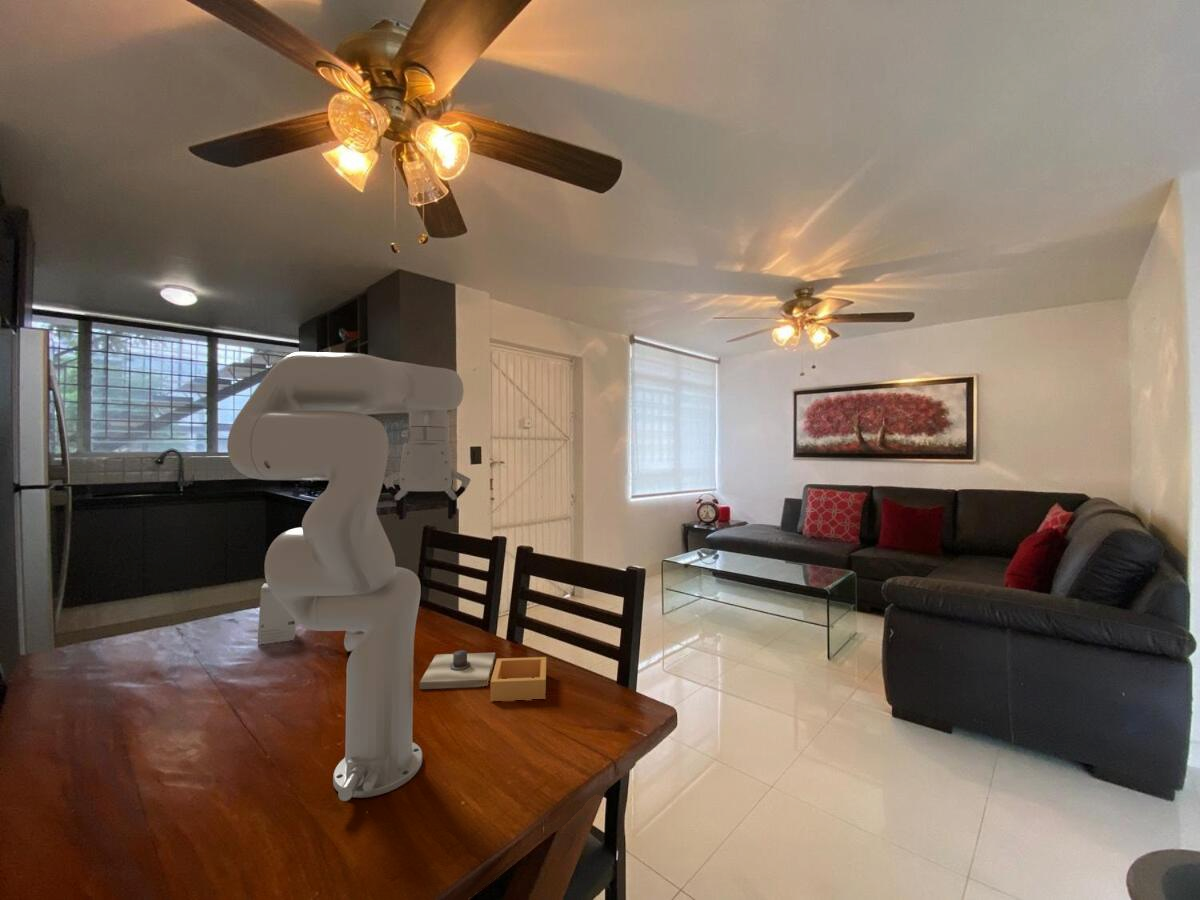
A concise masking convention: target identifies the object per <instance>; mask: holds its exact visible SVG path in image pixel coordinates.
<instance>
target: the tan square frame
mask: <svg viewBox="0 0 1200 900" xmlns="http://www.w3.org/2000/svg"><path fill="white" fill-rule="evenodd" d="M493 667H494V669H493V672H492V673H491V674H492V675H491V677H490V686H489V687H490V691H489V695H490V697H489V698H490V699H489V700H490V701H489V702H490V703H494V702H493V701H502V702H516V701H515V700H525V701H533V700H532V699H545V700H546V695H545V694H546V691H547V688H546V687H547V685H546V684H547V656H540V657H539V656H537V657H536V656H535V657H509V658H502V657H501V658H496V659H495V664H494V666H493ZM532 677H534V678H532ZM502 678H507V679H502Z"/></svg>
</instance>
